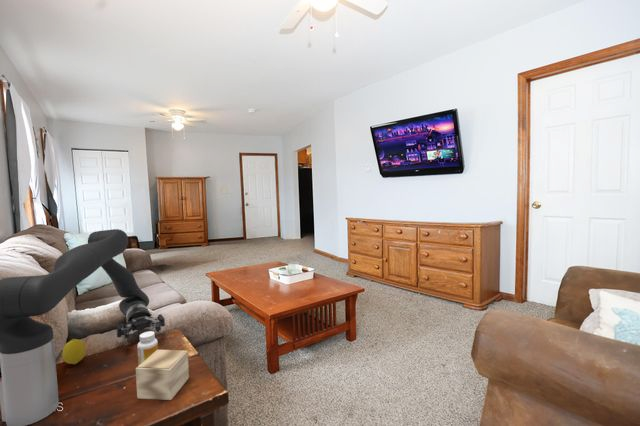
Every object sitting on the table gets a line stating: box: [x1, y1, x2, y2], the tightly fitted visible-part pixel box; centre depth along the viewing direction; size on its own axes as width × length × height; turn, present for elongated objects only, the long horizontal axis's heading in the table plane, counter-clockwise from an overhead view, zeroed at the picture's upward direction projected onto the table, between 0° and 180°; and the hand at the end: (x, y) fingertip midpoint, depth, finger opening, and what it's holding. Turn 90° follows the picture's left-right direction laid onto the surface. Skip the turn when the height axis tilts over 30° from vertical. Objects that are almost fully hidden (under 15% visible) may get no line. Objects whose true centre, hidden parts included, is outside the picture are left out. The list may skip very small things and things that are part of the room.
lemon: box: [61, 338, 87, 365], centre depth 93 cm, size 6×6×8 cm
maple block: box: [135, 349, 190, 401], centre depth 82 cm, size 9×9×8 cm
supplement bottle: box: [136, 330, 159, 367], centre depth 92 cm, size 5×5×10 cm
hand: (143, 333), depth 101 cm, fingers open, 8 cm apart
